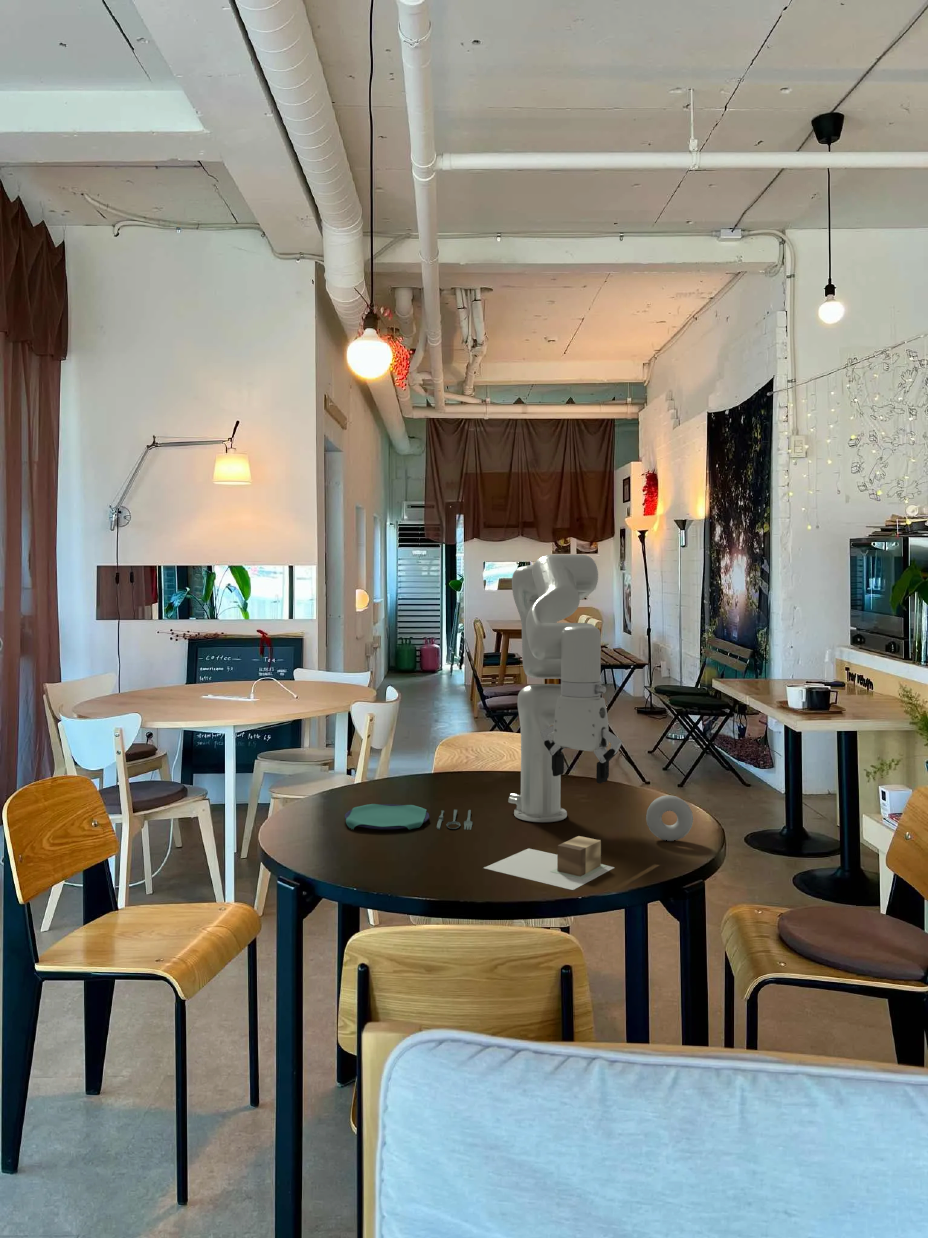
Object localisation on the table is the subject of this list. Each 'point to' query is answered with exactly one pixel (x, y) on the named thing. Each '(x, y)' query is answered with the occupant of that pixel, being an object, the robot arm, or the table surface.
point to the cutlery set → (394, 817)
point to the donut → (669, 831)
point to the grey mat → (543, 869)
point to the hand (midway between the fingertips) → (579, 778)
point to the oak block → (579, 856)
